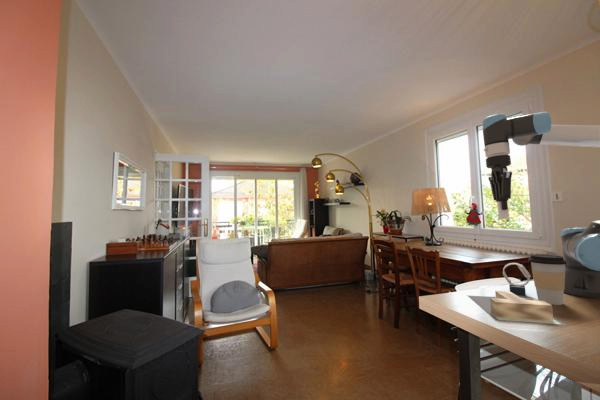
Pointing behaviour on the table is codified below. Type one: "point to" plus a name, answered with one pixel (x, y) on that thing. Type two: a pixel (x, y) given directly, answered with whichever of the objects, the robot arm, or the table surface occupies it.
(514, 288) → the watch
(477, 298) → the mat
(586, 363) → the table surface
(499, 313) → the t block
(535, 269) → the coffee cup
